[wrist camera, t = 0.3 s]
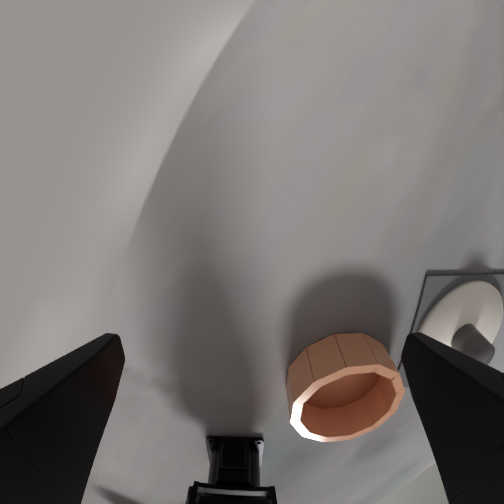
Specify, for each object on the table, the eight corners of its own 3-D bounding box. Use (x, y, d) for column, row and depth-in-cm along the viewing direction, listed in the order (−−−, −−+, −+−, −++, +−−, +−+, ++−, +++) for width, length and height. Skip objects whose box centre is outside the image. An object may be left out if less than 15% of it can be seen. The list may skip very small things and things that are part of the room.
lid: (476, 368, 27) (495, 392, 23) (397, 384, 27) (413, 415, 23) (511, 278, 23) (538, 297, 19) (430, 281, 23) (459, 307, 19)
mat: (476, 369, 28) (478, 370, 27) (391, 386, 28) (392, 388, 27) (513, 272, 23) (515, 273, 23) (425, 275, 23) (427, 276, 23)
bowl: (372, 404, 28) (384, 433, 24) (282, 411, 28) (286, 444, 24) (398, 330, 25) (417, 359, 21) (292, 334, 25) (298, 369, 21)
